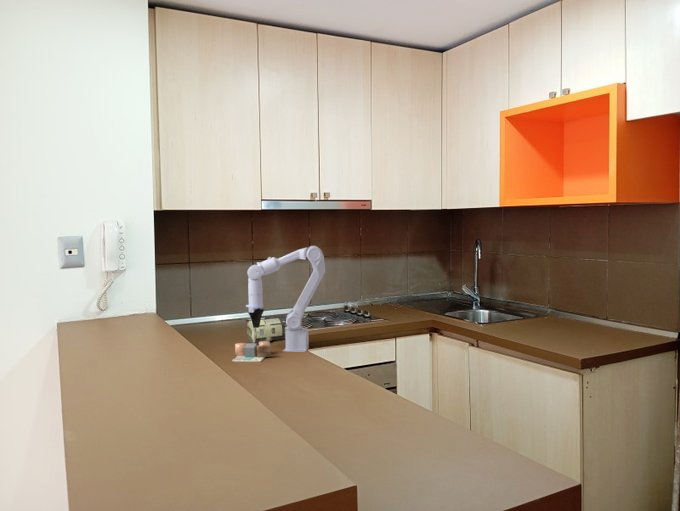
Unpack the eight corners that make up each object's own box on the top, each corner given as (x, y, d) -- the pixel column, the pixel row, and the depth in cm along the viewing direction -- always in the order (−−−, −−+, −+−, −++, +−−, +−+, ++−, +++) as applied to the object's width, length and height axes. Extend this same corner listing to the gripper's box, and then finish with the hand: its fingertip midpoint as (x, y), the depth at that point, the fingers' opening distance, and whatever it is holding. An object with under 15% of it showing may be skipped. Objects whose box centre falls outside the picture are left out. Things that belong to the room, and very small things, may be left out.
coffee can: (246, 337, 242) (275, 334, 248) (253, 348, 233) (283, 345, 240) (247, 316, 239) (277, 313, 245) (254, 327, 230) (285, 324, 236)
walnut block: (268, 354, 213) (268, 344, 213) (270, 356, 210) (270, 346, 210) (256, 356, 211) (256, 346, 211) (258, 357, 209) (258, 347, 208)
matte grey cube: (257, 352, 213) (256, 343, 212) (254, 357, 210) (253, 347, 209) (247, 352, 214) (246, 343, 213) (244, 357, 210) (243, 347, 209)
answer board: (269, 353, 218) (269, 351, 218) (260, 361, 204) (260, 360, 204) (243, 353, 220) (242, 351, 220) (232, 361, 206) (232, 359, 206)
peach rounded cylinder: (271, 351, 218) (271, 340, 218) (268, 354, 214) (268, 343, 214) (260, 351, 219) (260, 340, 219) (257, 354, 215) (257, 343, 214)
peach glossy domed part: (247, 354, 215) (247, 342, 215) (244, 356, 211) (244, 345, 211) (237, 353, 216) (236, 342, 216) (233, 356, 212) (233, 345, 211)
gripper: (250, 292, 228) (251, 324, 229) (240, 296, 214) (241, 330, 215) (267, 292, 228) (268, 324, 228) (258, 296, 213) (258, 330, 214)
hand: (256, 327), depth 221 cm, fingers closed
